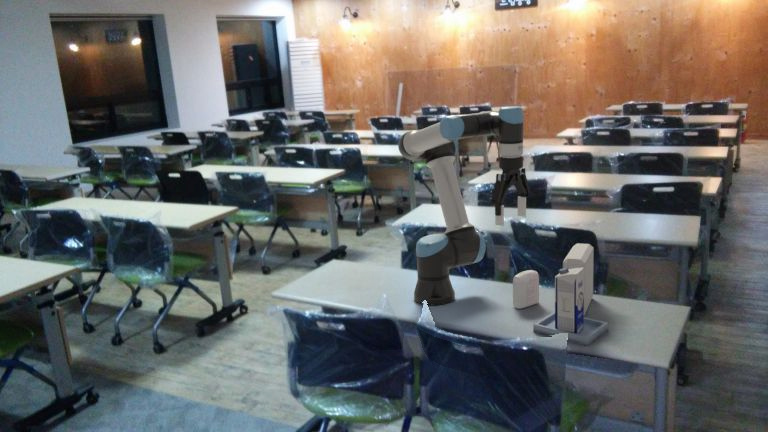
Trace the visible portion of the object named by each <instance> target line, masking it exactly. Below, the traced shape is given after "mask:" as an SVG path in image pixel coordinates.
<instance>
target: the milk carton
mask: <svg viewBox="0 0 768 432" xmlns="http://www.w3.org/2000/svg"><path fill="white" fill-rule="evenodd" d="M558 272H559V273H558V274H556V275H555V276H554V311H555V329H559V330H563V331H567V332H571V333H575V334H579V333H580V332H581V330H582V329H583V328H584V316H585V315H584V268H574V269H568V268H563V267H562V268H560V269H558Z"/></svg>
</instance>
